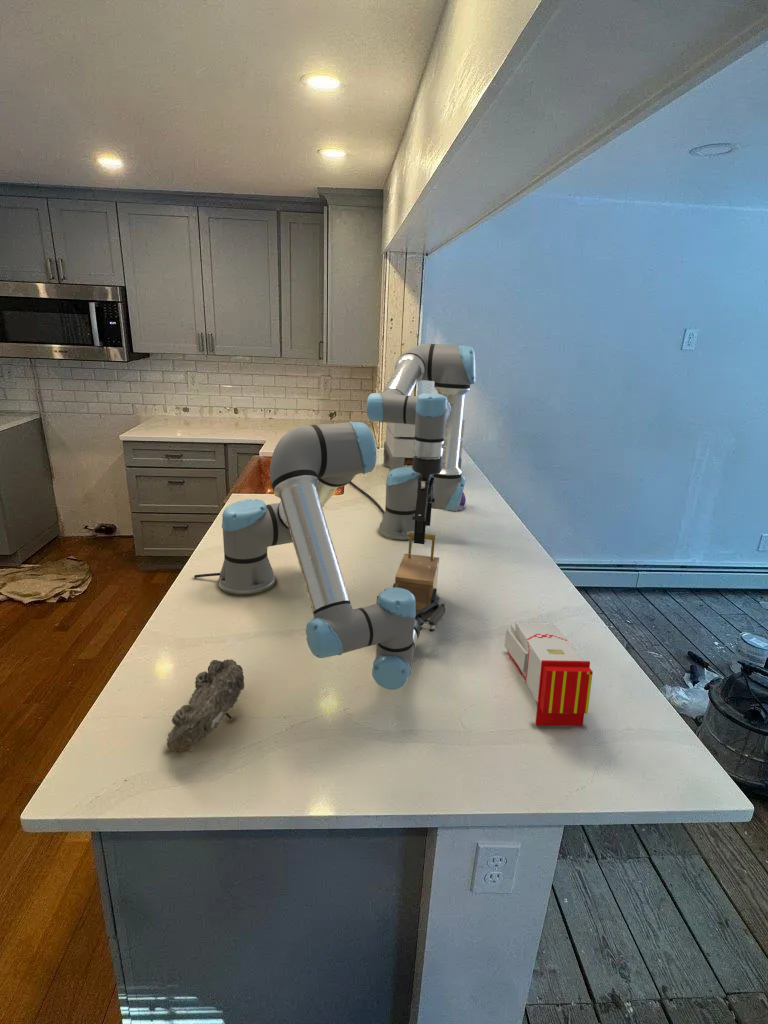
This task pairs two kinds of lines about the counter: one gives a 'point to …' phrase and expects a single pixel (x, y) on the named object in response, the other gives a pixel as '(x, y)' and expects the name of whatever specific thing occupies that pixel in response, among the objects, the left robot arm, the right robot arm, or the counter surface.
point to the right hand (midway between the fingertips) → (422, 534)
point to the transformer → (404, 445)
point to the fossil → (206, 705)
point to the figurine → (461, 503)
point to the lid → (418, 565)
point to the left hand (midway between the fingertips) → (414, 590)
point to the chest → (419, 592)
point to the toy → (551, 672)
